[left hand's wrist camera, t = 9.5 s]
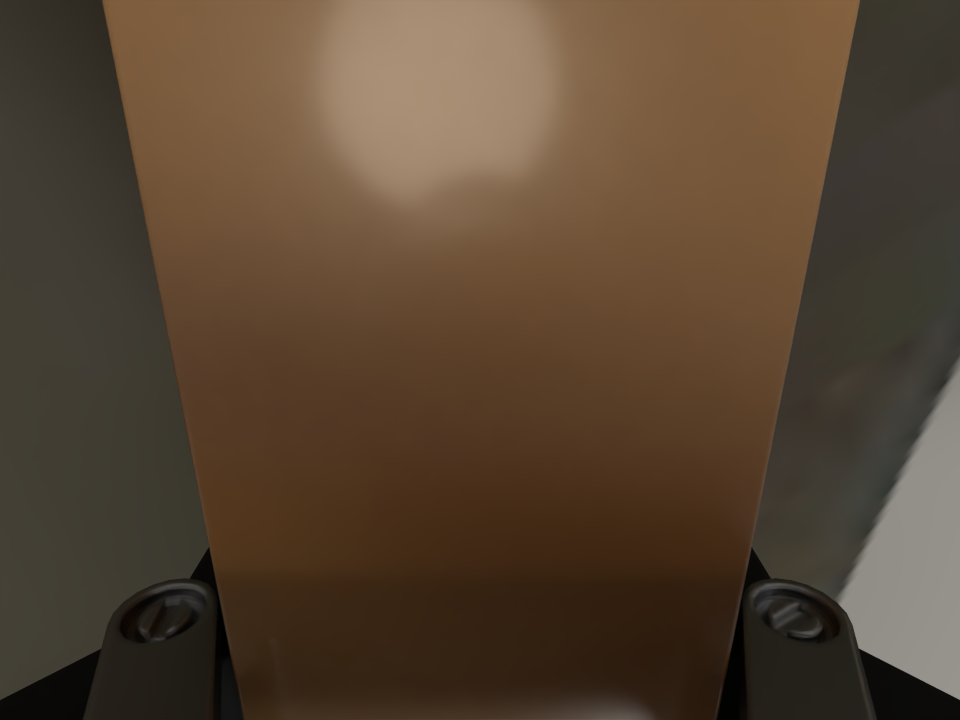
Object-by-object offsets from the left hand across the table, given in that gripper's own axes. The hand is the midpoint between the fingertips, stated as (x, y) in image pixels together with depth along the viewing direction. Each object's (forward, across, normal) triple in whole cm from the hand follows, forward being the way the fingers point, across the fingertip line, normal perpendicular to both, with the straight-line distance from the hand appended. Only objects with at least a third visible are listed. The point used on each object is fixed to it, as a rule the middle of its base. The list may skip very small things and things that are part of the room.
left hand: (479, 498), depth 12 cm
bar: (+3, 0, -27) cm, 27 cm away
